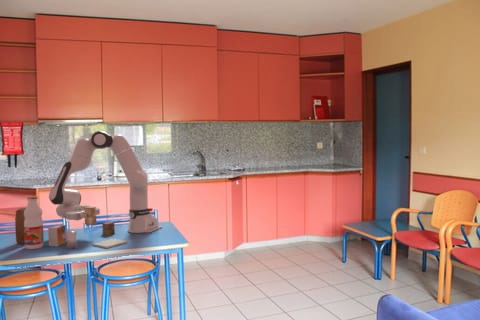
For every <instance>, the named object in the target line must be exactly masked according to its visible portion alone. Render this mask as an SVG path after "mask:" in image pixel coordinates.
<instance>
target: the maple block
mask: <svg viewBox="0 0 480 320" xmlns="http://www.w3.org/2000/svg"><path fill="white" fill-rule="evenodd" d="M89 206H90V207H84V212H85V214H88V217H86V218H84V225H85V226H93V225H97V215H96V208H97V206H92V205H89Z"/></svg>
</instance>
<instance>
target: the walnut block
mask: <svg viewBox="0 0 480 320" xmlns="http://www.w3.org/2000/svg"><path fill="white" fill-rule="evenodd" d="M101 226H102V235H105V236H111V235H114V234H115V231H116V230H115V222H113V221H105V222H103V223H102V225H101Z"/></svg>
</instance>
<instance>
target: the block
mask: <svg viewBox="0 0 480 320" xmlns="http://www.w3.org/2000/svg"><path fill="white" fill-rule="evenodd" d="M25 209H26V207H20V208H18V209H17V210H16V211H15V218H14V219H15V220H14V222H15V223H14V226H15V241H16V242H15V243H16V244H17V245H23V246H24V245H25V239H24V220H25V217H24V210H25Z"/></svg>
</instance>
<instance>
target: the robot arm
mask: <svg viewBox="0 0 480 320" xmlns="http://www.w3.org/2000/svg"><path fill="white" fill-rule="evenodd" d="M107 148H109V149H110V150H111V151H112V152H113V154H114V157H115V158H116V160H117V161H118V163H119V165H120V167H121V169H122V172H123V173H124V176H125V178H126V179H127V181H128V183H129V210H128V211H129V212H128V214H129V225H128V229H127V232H128V233H131V234H141V233H143V234H144V233H151V232H154V231H157V230H160V229H161V228H163V226H162V225H160V224H159V220H158V218H157V217H155V216H154V215H153V214H151V212H153V211H154V210H153V209H154V208H151V207H149V205H148V201H149V200H148V174H147V172H145V170H143V168H142V165H141V163H140V161H139V159H138V158H137V155H136V154H135V152H134V149H133V148H132V146H131V145H130V143H129V142H128V140H127V139H126V138H125V136H124V135H123V134H115V135H110V134H109V133H107V132H106V131H103V130H97V131H95V132H94V133H92V134H91V137H90V138H87V137H85V138H80V139H78V141H77V142H76V145H75V146H74V149H73V153H72V156H71V158H70V159H69V160H68V161H67V162H65V163H64V165H63V166H62V168H61V170H60V172H59V174H58V177H57V179H56V181H55V183H54V185H53V187H52V189H51V190H50V192H49V193H48V199H49V201H50V202H51V203H52V204H53V205H57V206H56V208H55V212H56V215H57V216H58V217H60V218H62V219H66V220H68V221H80V220H82V219H85V218H86V217H88V214H85V212H84V207H90V206H91V205H81V203H82V202H81V201H82V196H81V193H80V191H79V190H78V189H73V188H70V189H69V188H65V186H66V184H67V181H69V177H70V176H71V175H72V174H74V173H76V172H81V171H84V170H86V169H87V168H88V167H89V166H90V164H91V161H92V158H93V154H94V152H95V150H105V149H107ZM100 213H101V211H100V208H99V207H96V216H98V215H100Z"/></svg>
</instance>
